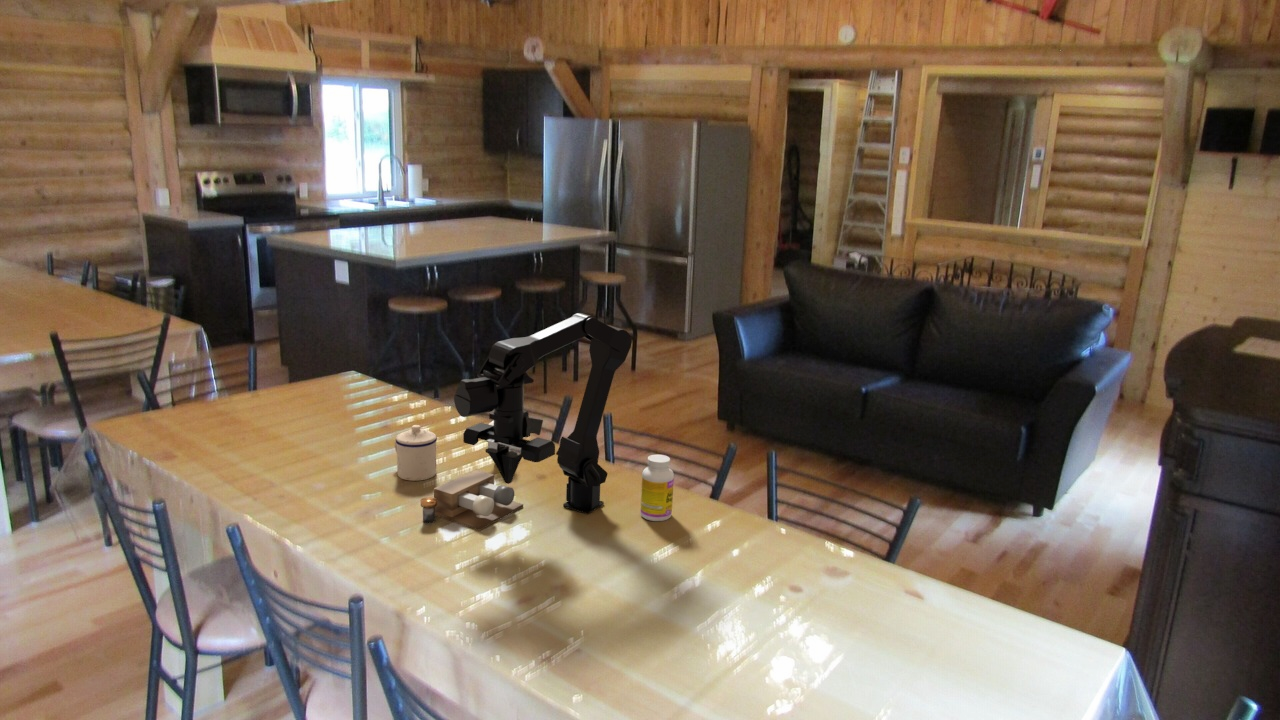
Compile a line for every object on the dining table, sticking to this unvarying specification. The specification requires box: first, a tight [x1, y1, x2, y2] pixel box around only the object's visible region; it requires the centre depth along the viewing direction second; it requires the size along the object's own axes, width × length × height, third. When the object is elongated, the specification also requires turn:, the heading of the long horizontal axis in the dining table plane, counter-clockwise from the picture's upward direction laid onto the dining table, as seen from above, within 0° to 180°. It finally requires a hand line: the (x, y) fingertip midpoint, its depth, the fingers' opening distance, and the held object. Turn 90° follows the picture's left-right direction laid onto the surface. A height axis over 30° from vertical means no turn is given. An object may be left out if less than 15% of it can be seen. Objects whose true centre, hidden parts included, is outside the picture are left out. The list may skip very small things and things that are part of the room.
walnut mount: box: [433, 469, 524, 531], centre depth 180 cm, size 13×14×6 cm
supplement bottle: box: [639, 454, 675, 522], centre depth 181 cm, size 7×7×13 cm
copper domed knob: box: [420, 496, 437, 524], centre depth 174 cm, size 3×3×4 cm
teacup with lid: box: [394, 424, 438, 482], centre depth 198 cm, size 12×9×12 cm
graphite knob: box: [479, 482, 515, 506], centre depth 182 cm, size 9×4×4 cm, turn 59°
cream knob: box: [458, 492, 494, 516], centre depth 177 cm, size 9×4×4 cm, turn 59°
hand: (508, 482), depth 170 cm, fingers closed
